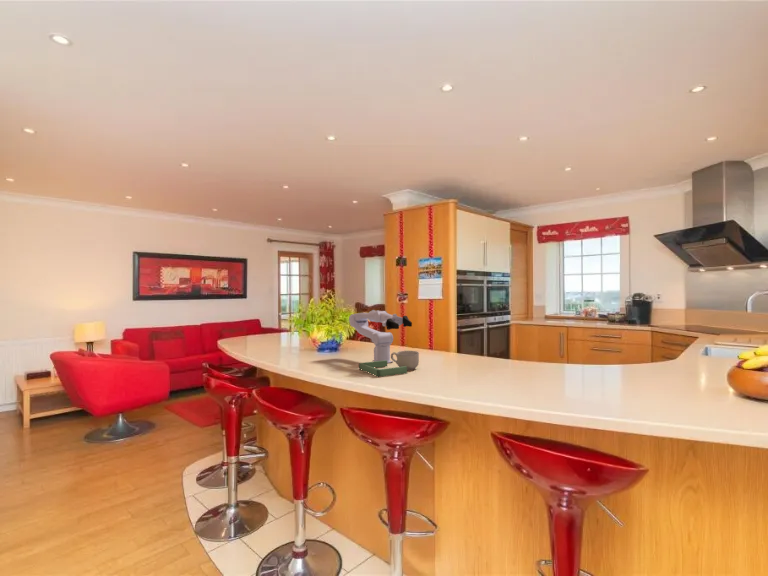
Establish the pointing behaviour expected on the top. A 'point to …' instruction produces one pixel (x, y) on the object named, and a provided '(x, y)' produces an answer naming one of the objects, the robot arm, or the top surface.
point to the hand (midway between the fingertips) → (404, 325)
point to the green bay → (381, 372)
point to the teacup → (406, 359)
